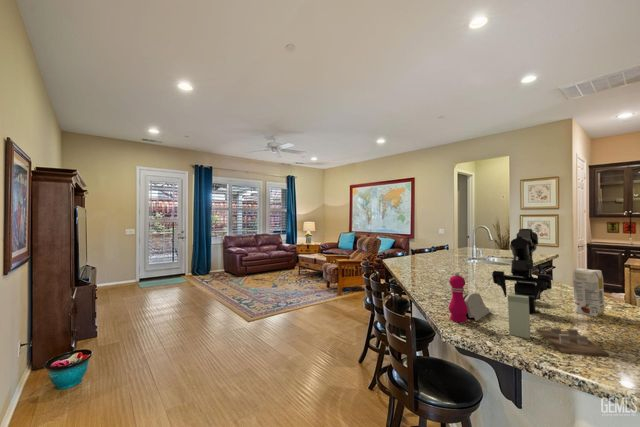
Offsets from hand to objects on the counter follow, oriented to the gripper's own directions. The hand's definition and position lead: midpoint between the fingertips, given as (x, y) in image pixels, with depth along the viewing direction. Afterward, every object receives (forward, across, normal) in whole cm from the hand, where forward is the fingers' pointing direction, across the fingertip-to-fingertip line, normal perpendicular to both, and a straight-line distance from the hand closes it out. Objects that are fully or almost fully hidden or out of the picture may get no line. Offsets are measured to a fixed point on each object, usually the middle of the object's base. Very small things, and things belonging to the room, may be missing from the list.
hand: (519, 298), depth 108 cm
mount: (+11, +13, +6) cm, 18 cm away
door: (+12, 0, +5) cm, 13 cm away
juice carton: (-19, +21, +36) cm, 46 cm away
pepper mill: (+10, -22, +8) cm, 25 cm away
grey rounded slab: (+2, -18, +16) cm, 24 cm away
